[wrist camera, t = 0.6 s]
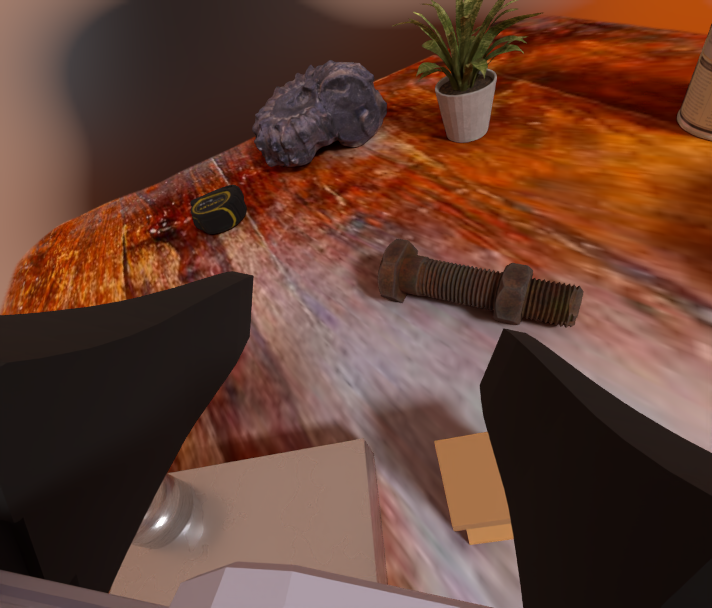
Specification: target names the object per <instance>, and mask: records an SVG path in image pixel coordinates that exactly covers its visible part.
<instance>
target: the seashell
mask: <svg viewBox="0 0 712 608" xmlns="http://www.w3.org/2000/svg"><path fill="white" fill-rule="evenodd" d="M373 81H374V76H373V74H371V73H370V72H369V71H367V70H366V69H365V68H364V67H363V66H361V64H360V63H353V62H350V63H348V62H333V61H332V60H330V61H328V62H327V63H326V64H324V65H322V66H317V67H316V69H315V68H314V67H313V66H311V65H310V66H309V67H308V69H307V71H306V73H305V74H304V75H301V74H299V73H297V74H296V75H295V80H294V81H290V82H287V83H286V84H285V86H284V87H277V88H276V89H275V91H274V95H273V96H272V98H270V99H269V100H268V101H267V103H266V106H264V107H262V108H261V109H260V111H259V113H257V114H255V115H256V119H255V121H256V122H255V124H254V126H253V129H252V131H253V132H254V133H255V135H256V140H255V141H254V142H255V144H256V146H257V148H258V149H259V150H260V151H261V152H262V155H263V156H264V157H265V159H266V162H267V164H268V166H270V167H273V166H277V165H280V166H283V167H285V166H287V167H294V166H302V165H305V164H307V163H309V162H311V160H312V159H313V157H314V156H315V154H316V151H317V150H319V149H320V148H321V147H323V146H327V145H330V144H332V143H333V142H334V141H337V140H339V141H340V144H342V145H345V146H349V147H358V146H361V145H363V144H364V143H365V142H366V141H368V140H369V139H370V138H371V137H372V136H373V135H374V134H376V133H377V132H378V130H379V128H380V127H381V125H382V123H383V118H384V117H385V115H386V113H387V103H386V102H385V101H384V100H383V99H382V97H381V95H380V93H379V92H378V90H375V89H374V85H373Z"/></svg>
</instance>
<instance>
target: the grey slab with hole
mask: <svg viewBox="0 0 712 608" xmlns="http://www.w3.org/2000/svg"><path fill="white" fill-rule="evenodd" d="M237 561H240V562H257V563H274V564H290V565H298V566H302V567H307V568H312V569H316V570H321V571H326V572H330V573H335V574H339V575H344V576H349V577H353V578H358V579H363V580H367V581H372V582H376V583H381V584H386V585H388V581H387V571H386V562H385V553H384V543H383V534H382V525H381V515H380V506H379V497H378V487H377V478H376V469H375V459H374V453H373V452H372V450H371V449H370V447H369V446H368V444H367V443H366V441H365V440H364V438H363V439H357V440H352V441H346V442H340V443H335V444H329V445H324V446H318V447H312V448H307V449H301V450H296V451H290V452H285V453H279V454H273V455H268V456H262V457H257V458H251V459H245V460H240V461H234V462H229V463H223V464H217V465H212V466H206V467H201V468H195V469H190V470H184V471H178V472H173V473H167V474H166V476H165V478H164V480H163V481H162V483H161V485H160V487H159V489H158V491H157V493H156V495H155V497H154V499H153V501H152V503H151V505H150V507H149V509H148V511H147V513H146V515H145V517H144V519H143V521H142V523H141V525H140V527H139V529H138V531H137V533H136V535H135V537H134V539H133V541H132V543H131V546H130V548H129V550H128V552H127V554H126V556H125V558H124V560H123V562H122V565H121V567H120V569H119V571H118V573H117V575H116V578H115V580H114V582H113V584H112V587H111V591H110V594H113V595H118V596H122V597H127V598H132V599H136V600H141V601H145V602H150V603H155V604H159V605H164V606H168V607H169V606H170V604H171V602H172V600H173V598H174V596H175V594H176V592H177V590H178V588H179V586H180V584H181V583H182V582H184V581H186V580H188V579H191V578H193V577H195V576H197V575H200V574H203V573H205V572H208V571H211V570H214V569H217V568H220V567H223V566H225V565H228V564H231V563H234V562H237Z"/></svg>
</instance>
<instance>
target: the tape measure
mask: <svg viewBox="0 0 712 608" xmlns="http://www.w3.org/2000/svg"><path fill="white" fill-rule="evenodd" d="M191 206H192V208H191V214H192V217H193V222H194V225H195V226H196V227H197V228H198V229H200V230H203V231H204V232H206V233H208V234H216V233H221V232H224V231H226V230H229V229H230V228H232V227H234V226H236V225H237V224H238V223H239V222H240V221H241V220H242V219H243V218H244V216H245V214H246V211H247V208H246V205H245V202H244V196H243V193H242V191H241V190H240V188H239V187H238V186H236V185H229V186H225V187H223V188H220V189H217V190H215V191H212V192H210V193H208V194H206V195H203V196H201V197H198V198H196V199H194V200H192V201H191Z"/></svg>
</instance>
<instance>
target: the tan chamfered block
mask: <svg viewBox="0 0 712 608" xmlns="http://www.w3.org/2000/svg"><path fill="white" fill-rule="evenodd" d="M434 443H435V448H436V452H437V457H438V461H439V466H440V471H441V475H442V480H443V485H444V489H445V494H446V499H447V503H448V508H449V513H450V517H451V522H452V527H453V530H454V531H460V530H466V531H467V535H468V539H469V544H470V545H472V544H480V543H488V542H495V541H503V540H510V539H514V537H513V532H512V526H511V520H510V514H509V508H508V504H507V500H506V495H505V491H504V487H503V484H502V480H501V477H500V473H499V470H498V466H497V463H496V459H495V456H494V453H493V449H492V446H491V442H490V439H489V435H488V432H483V433H477V434H472V435H466V436H460V437H454V438H449V439H443V440H437V441H434Z"/></svg>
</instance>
